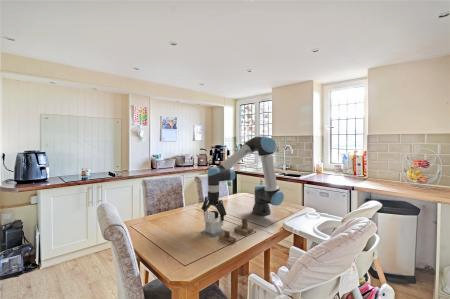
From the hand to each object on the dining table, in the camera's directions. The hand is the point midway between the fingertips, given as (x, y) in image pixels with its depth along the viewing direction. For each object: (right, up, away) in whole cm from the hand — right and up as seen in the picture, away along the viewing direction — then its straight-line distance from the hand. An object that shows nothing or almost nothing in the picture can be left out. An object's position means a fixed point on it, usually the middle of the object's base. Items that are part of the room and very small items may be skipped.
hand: (213, 223), depth 140 cm
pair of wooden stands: (+15, -6, -5) cm, 17 cm away
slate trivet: (0, -6, 0) cm, 6 cm away
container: (0, -6, 0) cm, 6 cm away
